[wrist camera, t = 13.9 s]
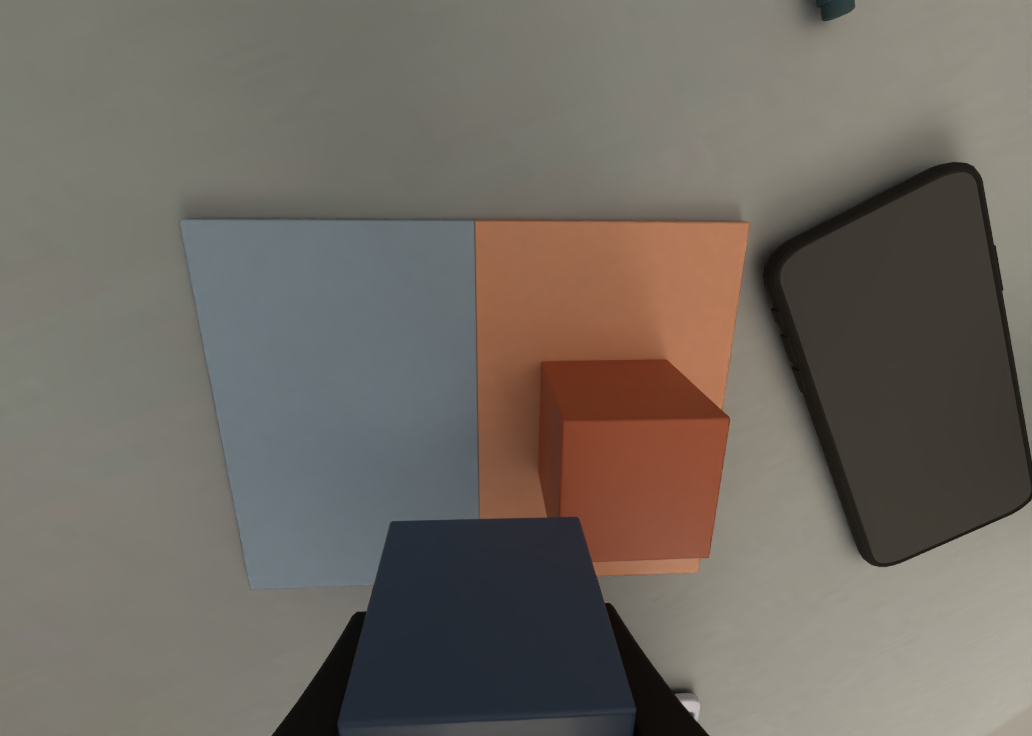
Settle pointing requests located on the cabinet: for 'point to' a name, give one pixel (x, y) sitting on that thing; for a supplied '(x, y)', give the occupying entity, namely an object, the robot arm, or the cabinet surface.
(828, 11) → the pen
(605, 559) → the terracotta block
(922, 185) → the smartphone
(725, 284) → the sorting board
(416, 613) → the slate block
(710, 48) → the cabinet surface
